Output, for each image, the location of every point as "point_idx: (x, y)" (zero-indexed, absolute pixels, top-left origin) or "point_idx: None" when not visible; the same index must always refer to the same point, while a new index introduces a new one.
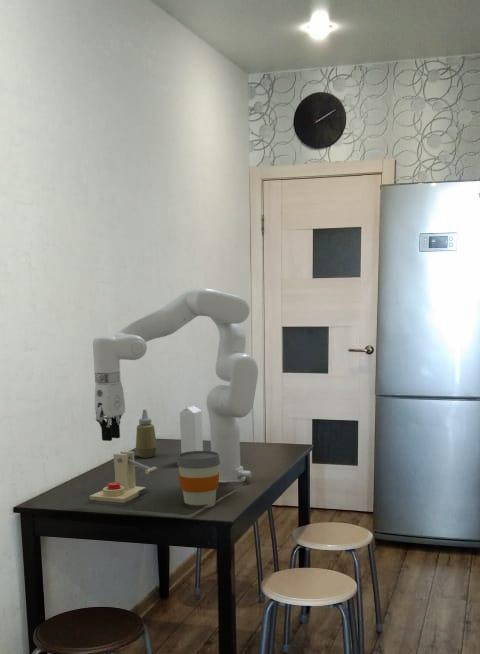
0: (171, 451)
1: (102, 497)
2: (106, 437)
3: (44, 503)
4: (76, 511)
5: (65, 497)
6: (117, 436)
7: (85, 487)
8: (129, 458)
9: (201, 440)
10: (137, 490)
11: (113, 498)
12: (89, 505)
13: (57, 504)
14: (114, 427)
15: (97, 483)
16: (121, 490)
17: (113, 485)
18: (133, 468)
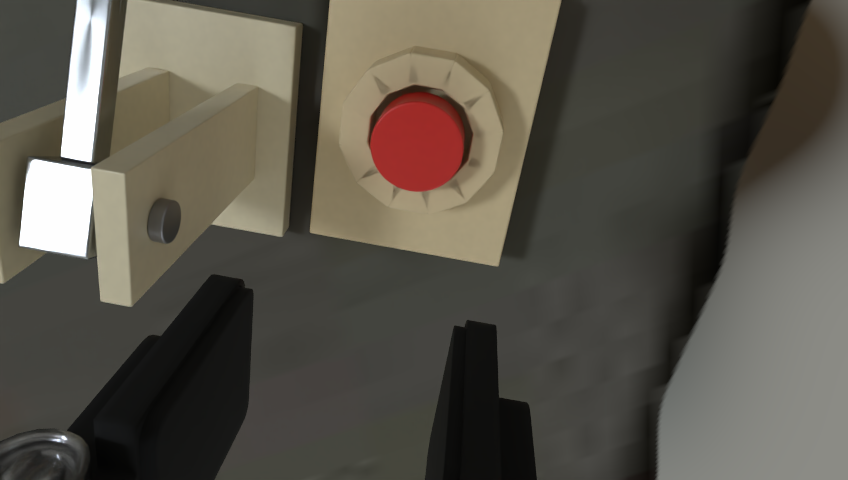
0: None
1: (520, 173)
2: (526, 416)
3: None
4: (695, 250)
5: (395, 408)
6: (244, 312)
7: None
8: (52, 157)
9: None
10: (219, 21)
11: (540, 85)
12: (553, 227)
13: (543, 396)
14: (178, 467)
15: (70, 358)
16: (457, 59)
17: (460, 132)
18: None
